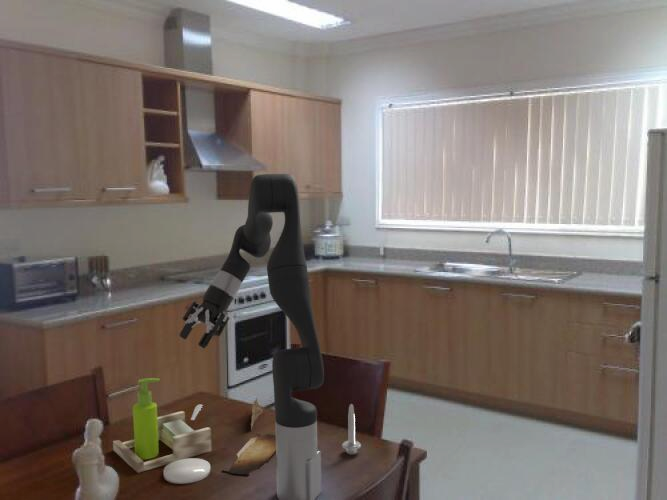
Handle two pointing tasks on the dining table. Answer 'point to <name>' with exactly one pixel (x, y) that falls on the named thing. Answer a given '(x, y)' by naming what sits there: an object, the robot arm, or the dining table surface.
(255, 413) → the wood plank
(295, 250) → the robot arm
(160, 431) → the offcut rack
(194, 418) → the butter knife
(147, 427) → the soap dispenser
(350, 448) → the screw
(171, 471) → the ceramic trivet
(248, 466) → the parchment
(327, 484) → the dining table surface
